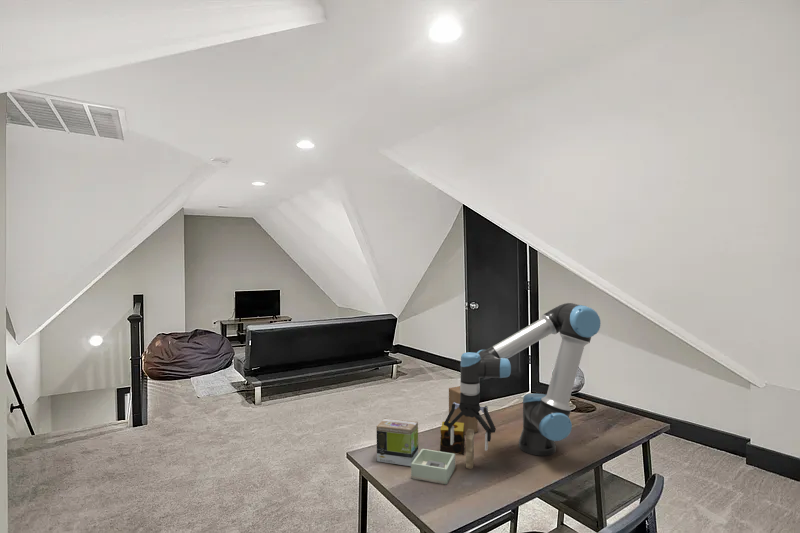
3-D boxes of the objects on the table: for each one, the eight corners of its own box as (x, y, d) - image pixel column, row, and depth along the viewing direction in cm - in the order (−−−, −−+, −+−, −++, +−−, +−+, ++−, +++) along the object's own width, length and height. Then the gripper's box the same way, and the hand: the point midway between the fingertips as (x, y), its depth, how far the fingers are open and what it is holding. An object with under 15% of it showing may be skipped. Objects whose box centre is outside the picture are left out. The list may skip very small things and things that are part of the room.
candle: (464, 455, 180) (463, 431, 180) (439, 453, 182) (439, 429, 182) (465, 445, 190) (465, 422, 190) (442, 443, 192) (442, 420, 192)
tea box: (418, 456, 179) (418, 421, 178) (411, 467, 169) (411, 430, 169) (384, 451, 184) (384, 416, 183) (376, 462, 174) (375, 425, 174)
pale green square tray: (455, 467, 169) (455, 453, 169) (446, 484, 156) (446, 469, 156) (422, 462, 174) (422, 448, 174) (411, 478, 161) (411, 463, 161)
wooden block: (448, 429, 208) (448, 387, 207) (465, 425, 212) (465, 384, 212) (460, 436, 199) (460, 393, 198) (478, 432, 203) (477, 390, 203)
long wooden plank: (474, 464, 172) (473, 429, 171) (472, 469, 168) (472, 433, 168) (468, 463, 172) (468, 428, 172) (466, 468, 169) (465, 432, 168)
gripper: (503, 393, 169) (502, 447, 169) (441, 386, 178) (440, 437, 178) (500, 399, 162) (500, 455, 162) (436, 391, 170) (435, 445, 171)
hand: (469, 446), depth 170 cm, fingers open, 13 cm apart
